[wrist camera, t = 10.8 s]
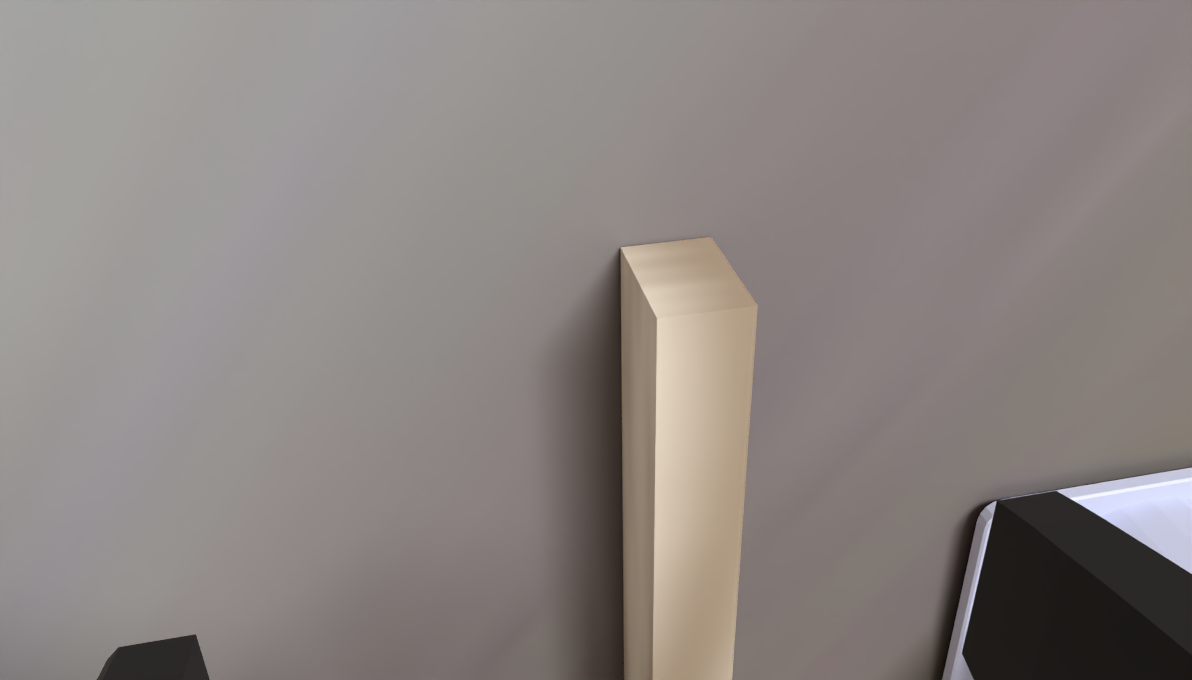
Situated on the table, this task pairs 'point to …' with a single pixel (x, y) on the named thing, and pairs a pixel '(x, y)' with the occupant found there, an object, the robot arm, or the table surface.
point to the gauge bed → (683, 456)
